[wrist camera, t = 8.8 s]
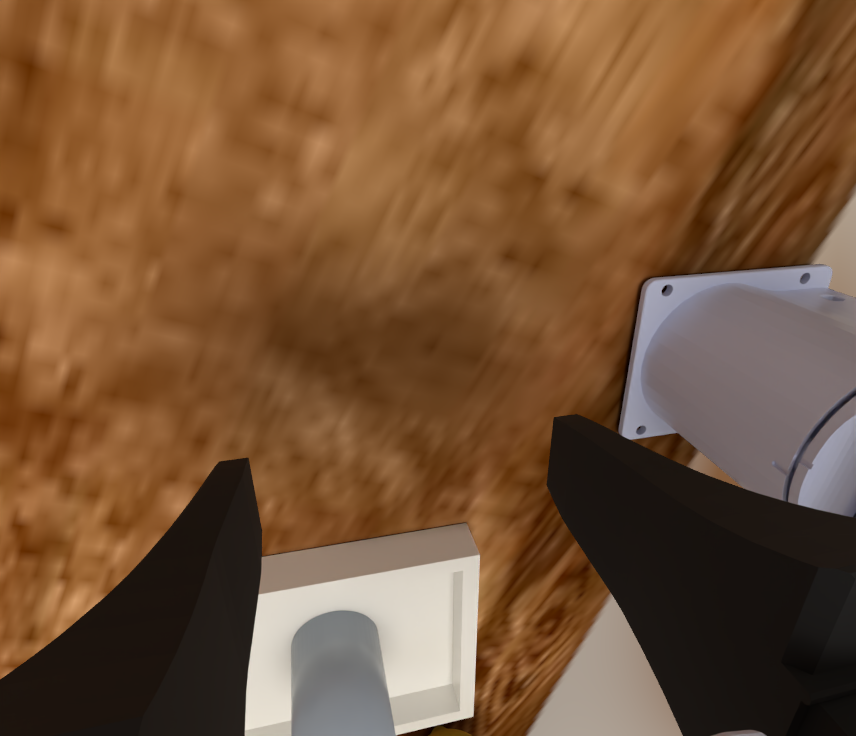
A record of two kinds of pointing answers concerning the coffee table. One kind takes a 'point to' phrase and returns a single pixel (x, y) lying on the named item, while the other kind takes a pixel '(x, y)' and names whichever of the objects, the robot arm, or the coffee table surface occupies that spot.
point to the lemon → (448, 732)
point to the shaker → (339, 678)
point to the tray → (390, 611)
